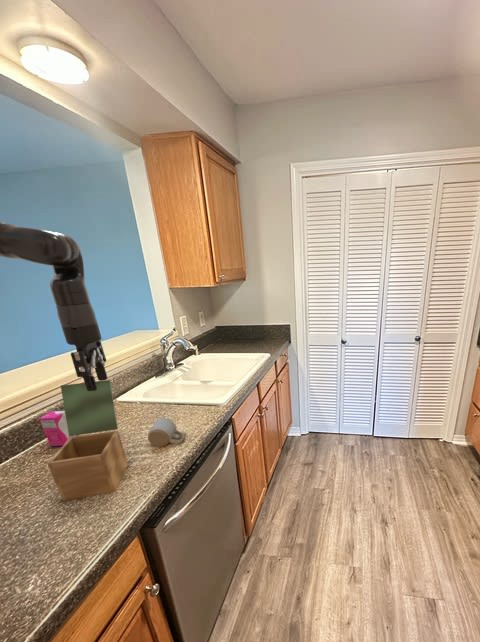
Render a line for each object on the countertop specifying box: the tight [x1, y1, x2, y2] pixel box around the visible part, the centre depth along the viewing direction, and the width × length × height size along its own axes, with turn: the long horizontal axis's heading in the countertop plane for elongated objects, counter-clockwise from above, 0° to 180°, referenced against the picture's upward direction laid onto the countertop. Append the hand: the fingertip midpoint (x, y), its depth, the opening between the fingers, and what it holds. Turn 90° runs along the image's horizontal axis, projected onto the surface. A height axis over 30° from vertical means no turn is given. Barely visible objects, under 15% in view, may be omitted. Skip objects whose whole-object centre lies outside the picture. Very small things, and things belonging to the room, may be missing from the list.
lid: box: [60, 379, 119, 436], centre depth 92 cm, size 14×13×1 cm
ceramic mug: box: [147, 417, 185, 448], centre depth 111 cm, size 11×8×8 cm
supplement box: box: [38, 410, 77, 448], centre depth 113 cm, size 6×6×12 cm
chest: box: [47, 430, 129, 501], centre depth 89 cm, size 14×13×13 cm
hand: (98, 384), depth 85 cm, fingers open, 8 cm apart
